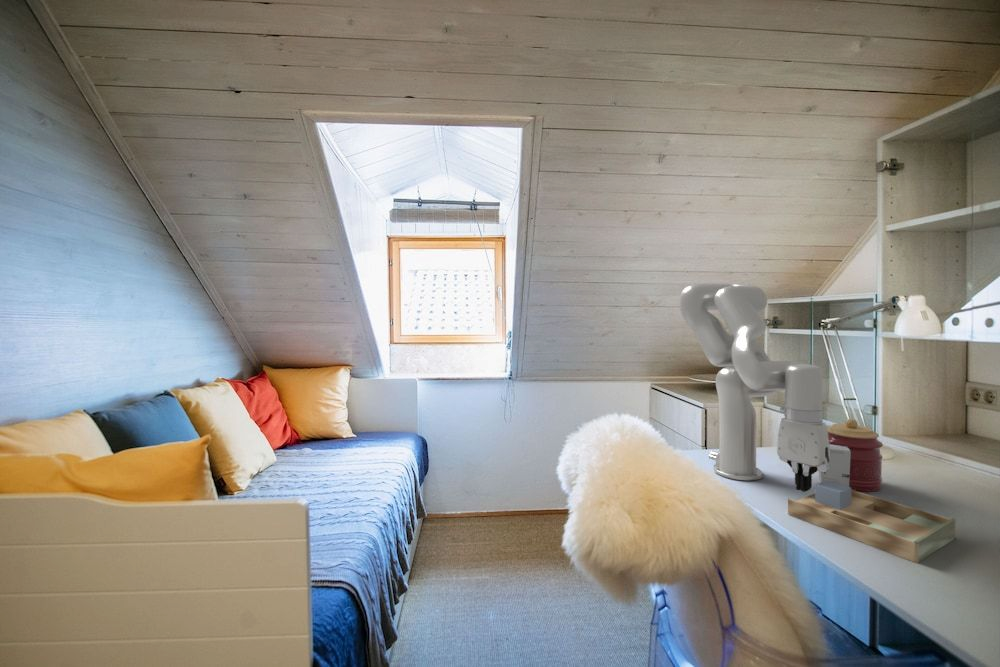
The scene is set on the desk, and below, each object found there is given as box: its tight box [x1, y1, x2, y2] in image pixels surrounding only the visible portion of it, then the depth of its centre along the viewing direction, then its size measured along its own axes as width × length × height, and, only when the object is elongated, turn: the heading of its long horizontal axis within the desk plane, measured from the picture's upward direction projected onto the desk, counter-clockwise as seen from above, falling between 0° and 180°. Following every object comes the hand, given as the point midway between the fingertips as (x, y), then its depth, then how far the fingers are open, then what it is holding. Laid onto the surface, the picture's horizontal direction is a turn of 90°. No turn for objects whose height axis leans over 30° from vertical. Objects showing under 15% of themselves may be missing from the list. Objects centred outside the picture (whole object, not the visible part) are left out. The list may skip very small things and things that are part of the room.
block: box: [814, 481, 851, 510], centre depth 102 cm, size 5×5×4 cm
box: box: [787, 490, 957, 564], centre depth 96 cm, size 23×18×4 cm
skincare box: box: [817, 444, 851, 487], centre depth 113 cm, size 6×4×12 cm
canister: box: [826, 418, 884, 492], centre depth 119 cm, size 13×13×18 cm
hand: (803, 489), depth 107 cm, fingers closed
